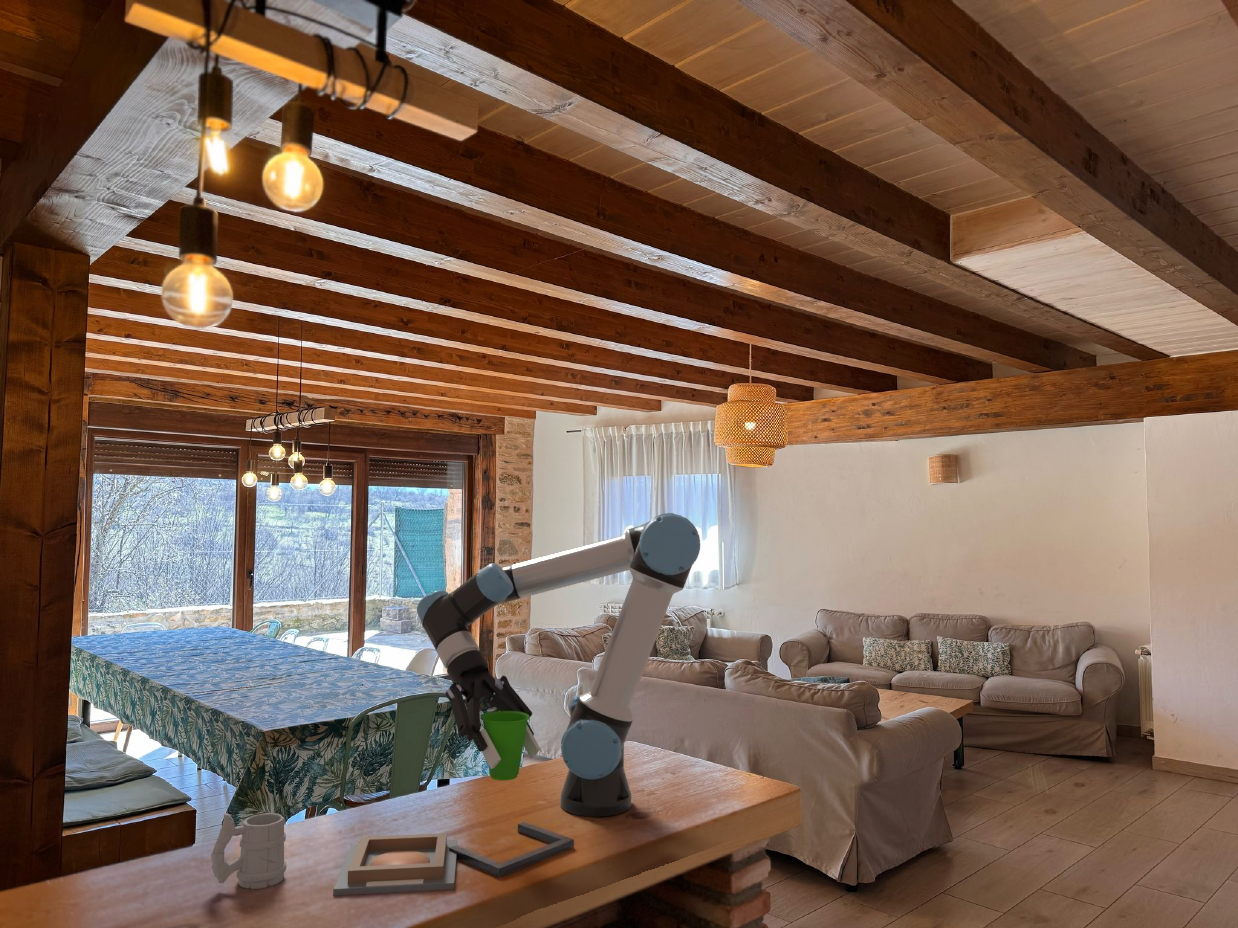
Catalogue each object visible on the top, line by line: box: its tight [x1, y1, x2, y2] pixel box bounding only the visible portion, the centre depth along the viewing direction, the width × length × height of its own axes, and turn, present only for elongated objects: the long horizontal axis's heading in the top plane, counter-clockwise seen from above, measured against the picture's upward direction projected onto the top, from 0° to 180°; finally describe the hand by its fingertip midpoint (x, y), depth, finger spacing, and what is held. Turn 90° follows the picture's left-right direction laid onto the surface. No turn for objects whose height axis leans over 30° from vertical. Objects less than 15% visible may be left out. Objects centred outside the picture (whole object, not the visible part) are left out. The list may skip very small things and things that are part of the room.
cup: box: [480, 710, 531, 781], centre depth 158 cm, size 9×9×11 cm
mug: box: [210, 812, 288, 890], centre depth 141 cm, size 8×12×12 cm, turn 131°
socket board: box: [332, 832, 458, 896], centre depth 147 cm, size 19×19×3 cm
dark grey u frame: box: [449, 821, 575, 878], centre depth 156 cm, size 14×18×2 cm
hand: (516, 758), depth 156 cm, fingers closed on cup, 9 cm apart
